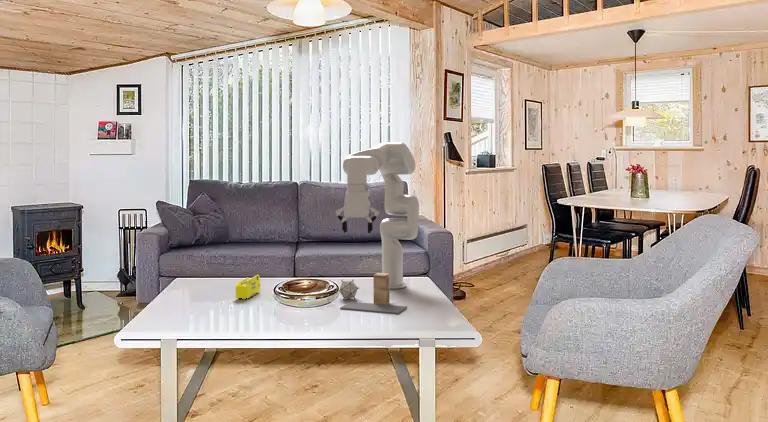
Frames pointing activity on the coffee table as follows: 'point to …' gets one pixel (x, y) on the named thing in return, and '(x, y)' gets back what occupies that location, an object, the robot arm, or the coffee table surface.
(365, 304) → the mat
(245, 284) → the yellow toy chassis
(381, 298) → the oak block
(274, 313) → the coffee table surface
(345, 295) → the game die
